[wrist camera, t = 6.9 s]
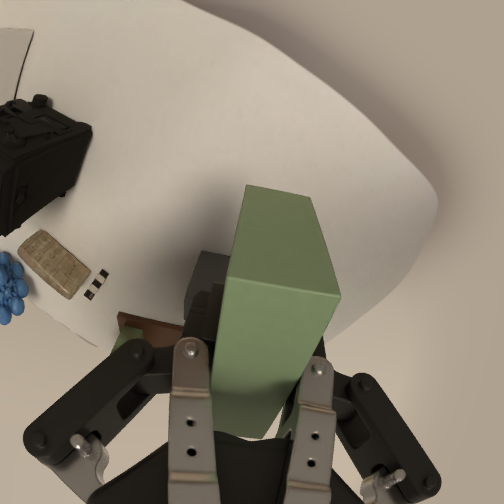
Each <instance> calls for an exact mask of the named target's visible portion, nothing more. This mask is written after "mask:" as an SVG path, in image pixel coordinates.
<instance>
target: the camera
mask: <svg viewBox="0 0 504 504" xmlns="http://www.w3.org/2000/svg"><path fill="white" fill-rule="evenodd" d="M47 100H48V97H47V96H46V95H41V94H36V95H34V98H33V101H32V102H29V103H28V102H26V101H24V100H22V99H15V100H10V101H7V102H6V104H4V105H0V236H1V235H3V236H4V237H6V236H7V235H9V234H10V233H11V232H13V231H14V230H15V229H17V228H20V227H21V224H22V223H24V222H25V221H26V220H27V219H29V218H30V217H31V216H32V215H34V214H35V213H36V212H38V211H39V210H40V209H42V208H43V207H44V206H46V205H47V204H48V203H50V202H51V201H53V200H54V199H55V198H57V197H58V196H59V197H65V195H66V191H67V190H69V189H70V188H71V187H72V186H74V183H75V180H76V177H77V173H78V170H79V167H80V164H81V161H82V158H83V155H84V152H85V149H86V146H87V143H88V141H89V138H90V135H91V133H92V132H91V126H90V125H88V124H86V123H83V122H76V121H74V120H72V119H70V118H68V117H67V116H65V115H63V114H61V113H59V112H57V111H55V110H53V109H52V108H50V107H48V106H46V103H47Z"/></svg>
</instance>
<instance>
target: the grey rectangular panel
mask: <svg viewBox="0 0 504 504" xmlns="http://www.w3.org/2000/svg"><path fill="white" fill-rule="evenodd" d="M20 33H21V34H20ZM32 35H33V31H32V30H31V29H0V105H4V104H6V102H7V101H10V100H14V96H15V91H16V87H17V83H18V79H19V76H20V72H21V68H22V65H23V62H24V59H25V55H26V52H27V49H28V46H29V44H30V41H31V38H32Z"/></svg>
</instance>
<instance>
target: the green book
mask: <svg viewBox="0 0 504 504" xmlns="http://www.w3.org/2000/svg"><path fill="white" fill-rule="evenodd" d="M340 299H341V293H340V289H339V286H338V283H337V279H336V276H335V272H334V269H333V266H332V262H331V259H330V256H329V253H328V249H327V246H326V243H325V240H324V237H323V234H322V231H321V228H320V225H319V222H318V219H317V216H316V213H315V210H314V207H313V204H312V201H311V198H310V197H306V196H302V195H297V194H292V193H288V192H283V191H278V190H273V189H268V188H263V187H258V186H253V185H246V189H245V193H244V198H243V202H242V206H241V211H240V215H239V220H238V224H237V229H236V234H235V238H234V243H233V247H232V252H231V257H230V261H229V266H228V271H227V275H226V281H225V287H224V293H223V299H222V306H221V312H220V318H219V325H218V331H217V338H216V344H215V351H214V358H213V365H212V372H211V378H210V392H211V397H212V415H213V430H215V431H221V432H225V433H228V434H231V435H233V436H238V437H246V438H255V439H262V438H263V437H264V435H265V434H266V432H267V431H268V429H269V428H270V426H271V425H272V423H273V421H274V420H275V418H276V417H277V415H278V413H279V412H280V410H281V409H282V407H283V405H284V404H285V402H286V400H287V399H288V397H289V395H290V394H291V392H292V390H293V388H294V387H295V385H296V383H297V382H298V380H299V378H300V376H301V374H302V373H303V371H304V369H305V367H306V365H307V364H308V362H309V360H310V358H311V356H312V354H313V353H314V351H315V349H316V347H317V345H318V343H319V341H320V339H321V337H322V335H323V333H324V331H325V330H326V328H327V326H328V324H329V322H330V320H331V317H332V315H333V313H334V311H335V309H336V307H337V305H338V303H339V301H340Z"/></svg>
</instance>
